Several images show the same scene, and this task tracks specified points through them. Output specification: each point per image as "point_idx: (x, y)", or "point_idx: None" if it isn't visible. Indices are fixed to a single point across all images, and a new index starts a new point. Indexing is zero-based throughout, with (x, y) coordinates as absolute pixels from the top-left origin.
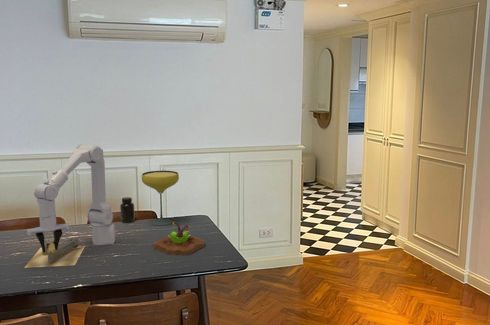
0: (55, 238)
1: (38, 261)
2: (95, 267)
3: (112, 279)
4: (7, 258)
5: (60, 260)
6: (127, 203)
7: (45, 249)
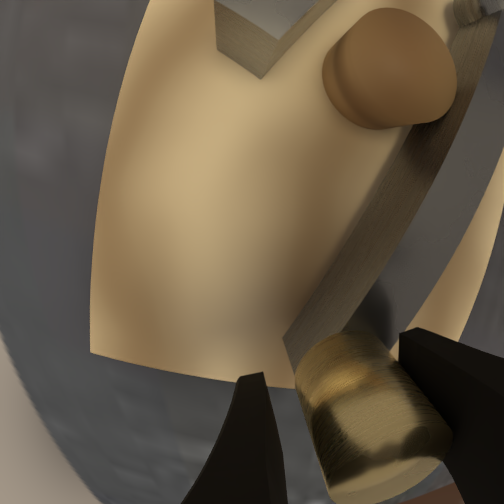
0: (478, 494)
1: (182, 238)
2: None
3: None
4: None
5: None
6: None
7: (257, 48)
